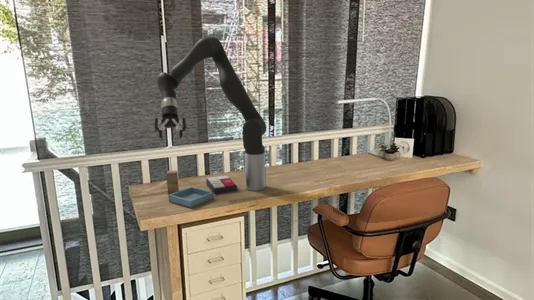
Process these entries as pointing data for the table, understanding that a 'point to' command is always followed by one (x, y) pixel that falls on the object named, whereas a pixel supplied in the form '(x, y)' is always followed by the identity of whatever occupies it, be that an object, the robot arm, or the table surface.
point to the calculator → (221, 184)
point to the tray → (191, 196)
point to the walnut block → (172, 182)
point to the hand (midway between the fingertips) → (171, 138)
